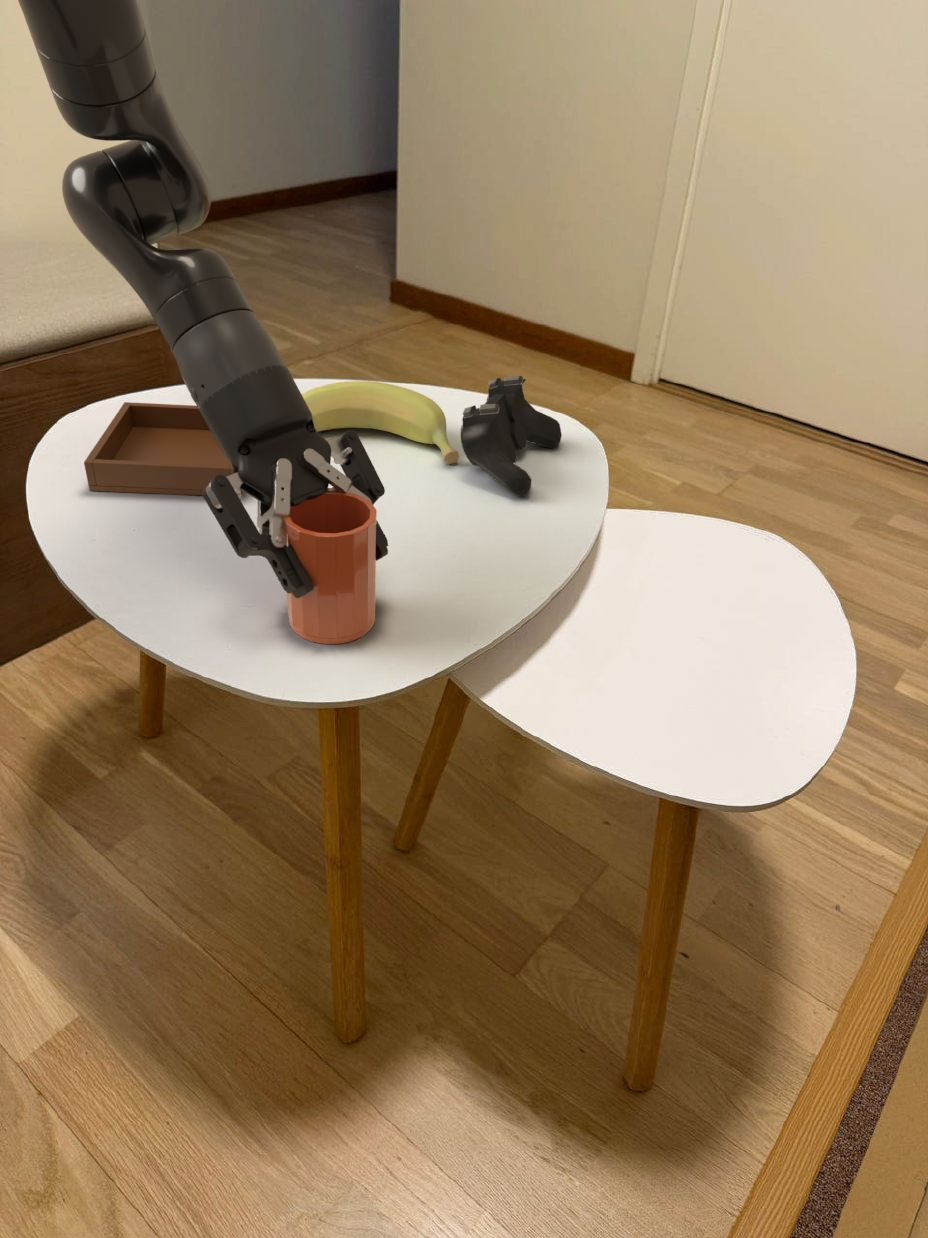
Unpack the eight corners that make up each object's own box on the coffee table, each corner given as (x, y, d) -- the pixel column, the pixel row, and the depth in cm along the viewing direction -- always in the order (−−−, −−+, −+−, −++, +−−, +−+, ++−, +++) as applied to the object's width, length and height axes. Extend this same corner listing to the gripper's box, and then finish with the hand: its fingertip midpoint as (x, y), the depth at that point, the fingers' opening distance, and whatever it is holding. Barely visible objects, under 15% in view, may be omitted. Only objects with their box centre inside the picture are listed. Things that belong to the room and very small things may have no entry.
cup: (284, 643, 70) (277, 534, 64) (294, 592, 76) (288, 488, 70) (373, 645, 71) (374, 538, 65) (376, 595, 76) (378, 492, 71)
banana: (334, 347, 103) (484, 410, 98) (337, 386, 108) (481, 448, 102) (260, 412, 96) (417, 483, 90) (267, 450, 100) (417, 521, 95)
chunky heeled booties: (515, 452, 107) (484, 374, 103) (568, 438, 104) (538, 356, 99) (472, 513, 94) (435, 427, 90) (530, 499, 91) (494, 408, 87)
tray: (89, 490, 87) (83, 462, 86) (128, 428, 99) (124, 401, 97) (240, 497, 88) (237, 469, 87) (261, 434, 100) (259, 408, 98)
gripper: (176, 386, 61) (291, 597, 62) (335, 343, 70) (434, 529, 71) (145, 432, 67) (250, 624, 68) (296, 387, 76) (387, 558, 77)
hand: (344, 575), depth 70 cm, fingers closed on cup, 7 cm apart
